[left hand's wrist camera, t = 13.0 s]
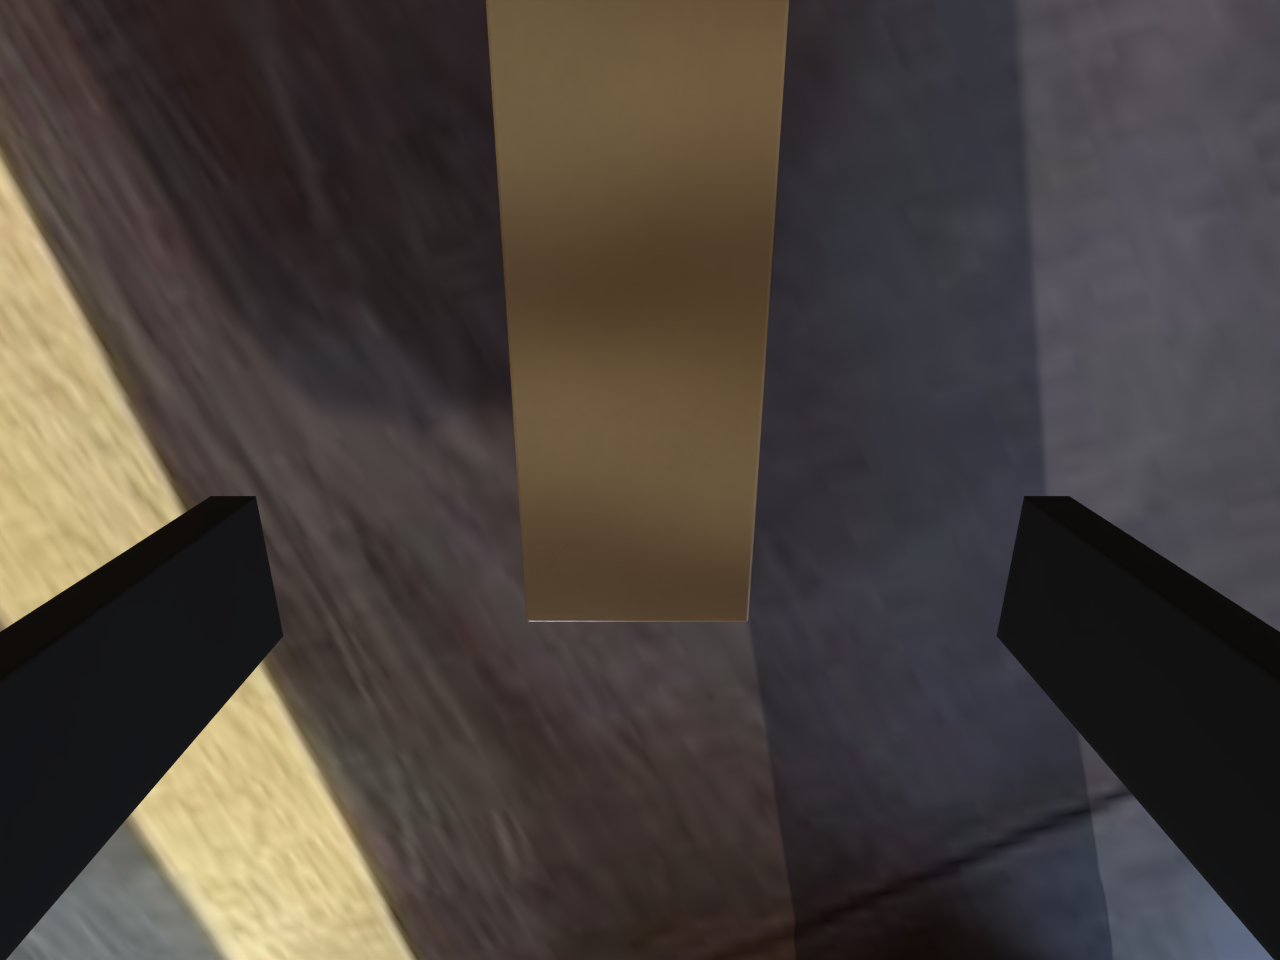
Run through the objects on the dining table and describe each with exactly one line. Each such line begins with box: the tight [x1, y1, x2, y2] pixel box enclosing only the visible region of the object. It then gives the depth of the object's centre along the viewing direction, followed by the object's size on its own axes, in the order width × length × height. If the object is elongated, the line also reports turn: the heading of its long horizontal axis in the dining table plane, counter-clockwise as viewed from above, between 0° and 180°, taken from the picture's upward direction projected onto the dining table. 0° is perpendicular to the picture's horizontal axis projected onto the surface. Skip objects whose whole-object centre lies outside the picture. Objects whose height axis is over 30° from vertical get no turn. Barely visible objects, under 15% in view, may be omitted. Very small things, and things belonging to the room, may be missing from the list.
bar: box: [486, 0, 789, 622], centre depth 17 cm, size 28×5×9 cm, turn 0°
